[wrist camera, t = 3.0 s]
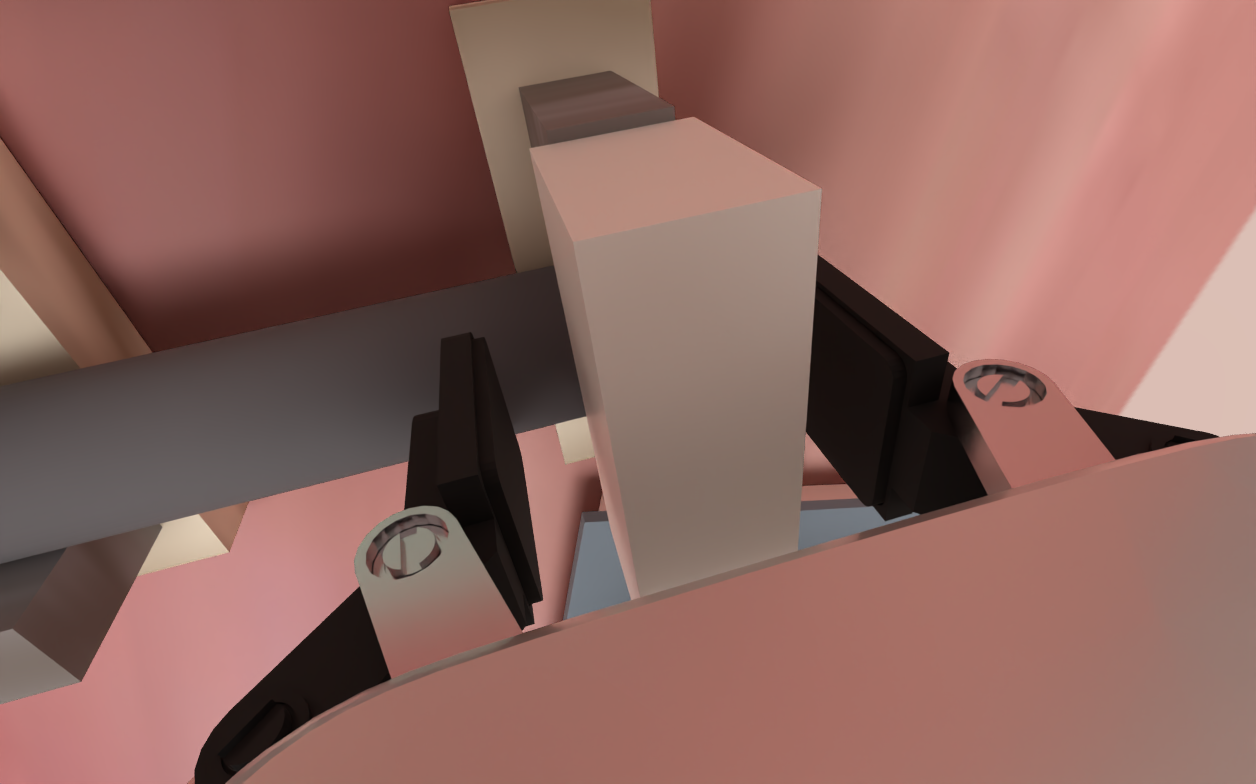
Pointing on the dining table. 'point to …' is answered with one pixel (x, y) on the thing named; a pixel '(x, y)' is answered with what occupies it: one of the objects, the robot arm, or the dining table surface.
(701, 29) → the dining table surface
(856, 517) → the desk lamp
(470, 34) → the clamp board
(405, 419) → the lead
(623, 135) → the beige rectangular block
